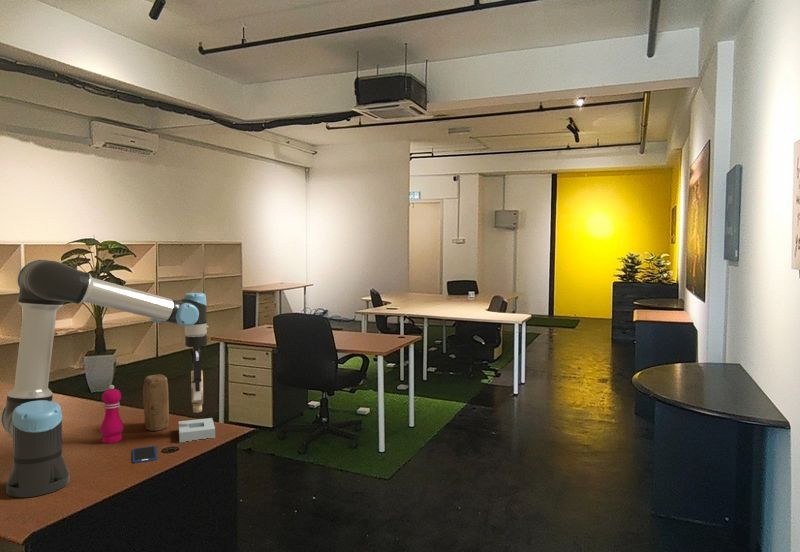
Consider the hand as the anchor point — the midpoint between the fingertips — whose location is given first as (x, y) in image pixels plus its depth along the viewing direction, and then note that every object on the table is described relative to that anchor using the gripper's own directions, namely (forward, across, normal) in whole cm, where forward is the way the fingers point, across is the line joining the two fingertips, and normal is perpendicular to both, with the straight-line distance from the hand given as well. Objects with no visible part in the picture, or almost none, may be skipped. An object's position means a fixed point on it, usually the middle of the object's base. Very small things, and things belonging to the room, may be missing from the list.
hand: (197, 397), depth 203 cm
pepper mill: (+14, +4, +28) cm, 32 cm away
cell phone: (+14, -15, +17) cm, 27 cm away
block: (+14, +14, +14) cm, 24 cm away
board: (+14, 0, 0) cm, 14 cm away
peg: (+5, 0, 0) cm, 5 cm away
